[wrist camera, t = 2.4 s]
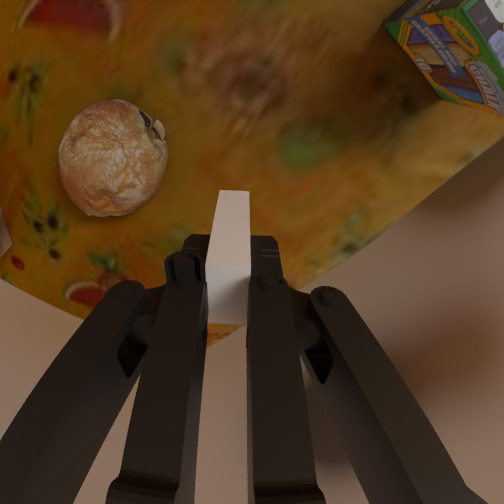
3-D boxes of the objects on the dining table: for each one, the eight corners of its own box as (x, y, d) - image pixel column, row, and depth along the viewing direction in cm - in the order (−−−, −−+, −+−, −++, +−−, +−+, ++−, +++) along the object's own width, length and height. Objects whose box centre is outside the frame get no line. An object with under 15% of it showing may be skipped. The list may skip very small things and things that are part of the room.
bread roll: (187, 155, 28) (201, 151, 21) (118, 234, 28) (110, 257, 21) (117, 91, 24) (108, 65, 17) (48, 172, 24) (17, 174, 17)
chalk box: (440, 101, 21) (562, 154, 9) (377, 23, 18) (500, 5, 6) (487, 52, 17) (603, 81, 5) (433, -23, 14) (549, -43, 2)
